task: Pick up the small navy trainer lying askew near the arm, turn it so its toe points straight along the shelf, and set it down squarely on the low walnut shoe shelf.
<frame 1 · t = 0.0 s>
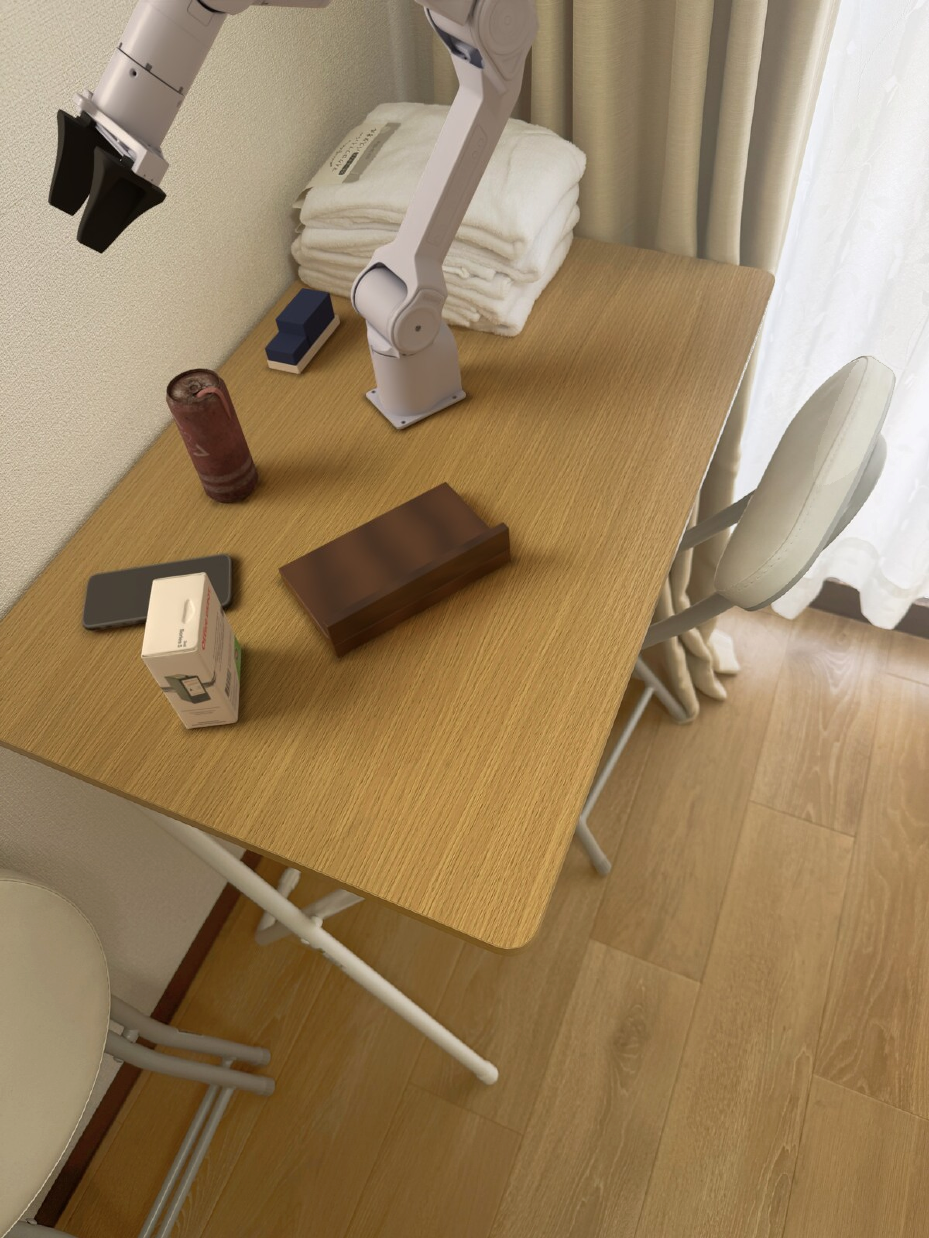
hand: (74, 227, 75), 32 cm above the table, tool tilted 50°, fingers open, 7 cm apart
shelf: (396, 571, 92), on the table
can: (234, 487, 102), on the table
trainer: (305, 345, 117), on the table
ink box: (216, 689, 86), on the table
smartphone: (161, 595, 93), on the table
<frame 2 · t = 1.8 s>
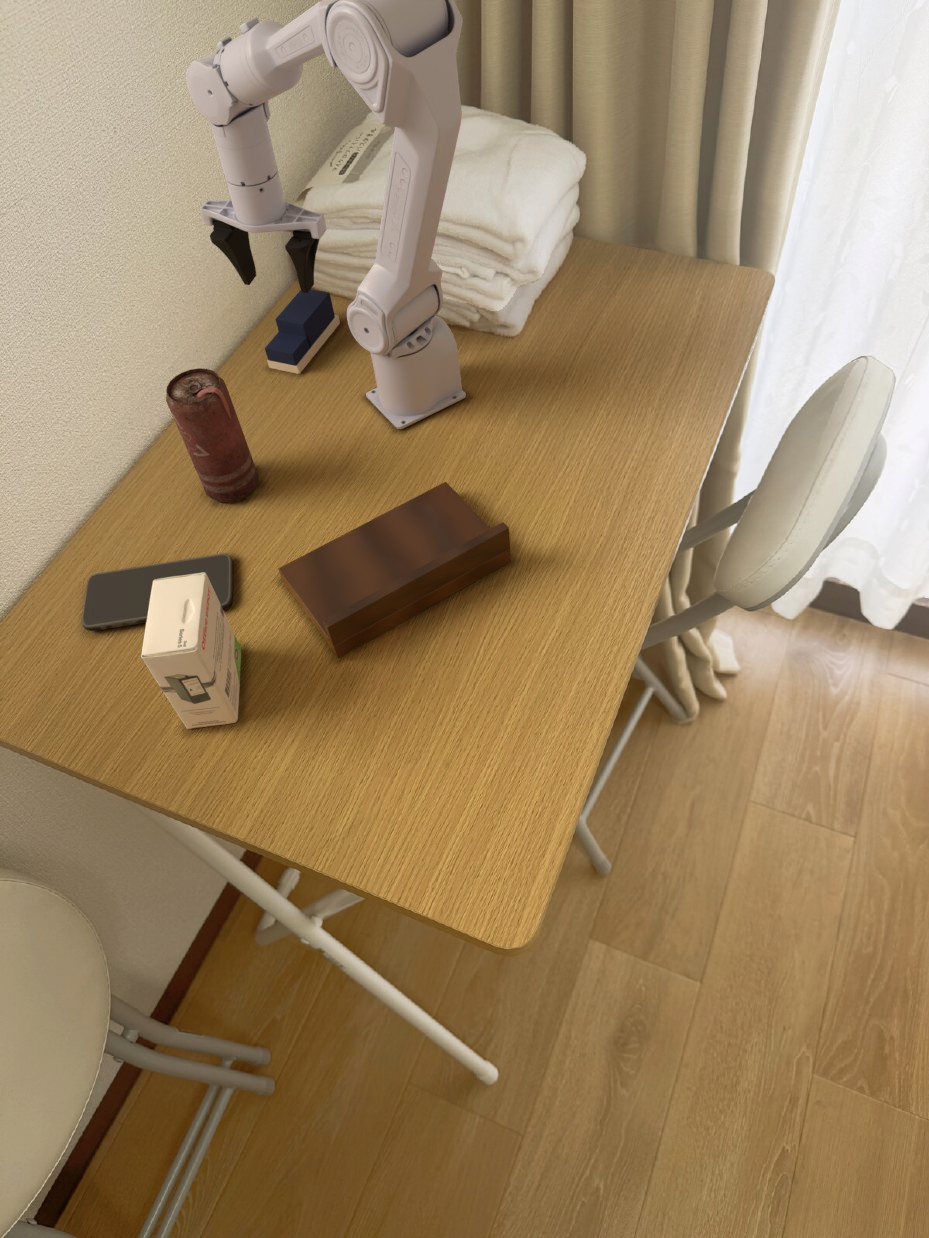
hand: (279, 284, 110), 9 cm above the table, tool pointing down, fingers open, 7 cm apart
nothing on the table moved.
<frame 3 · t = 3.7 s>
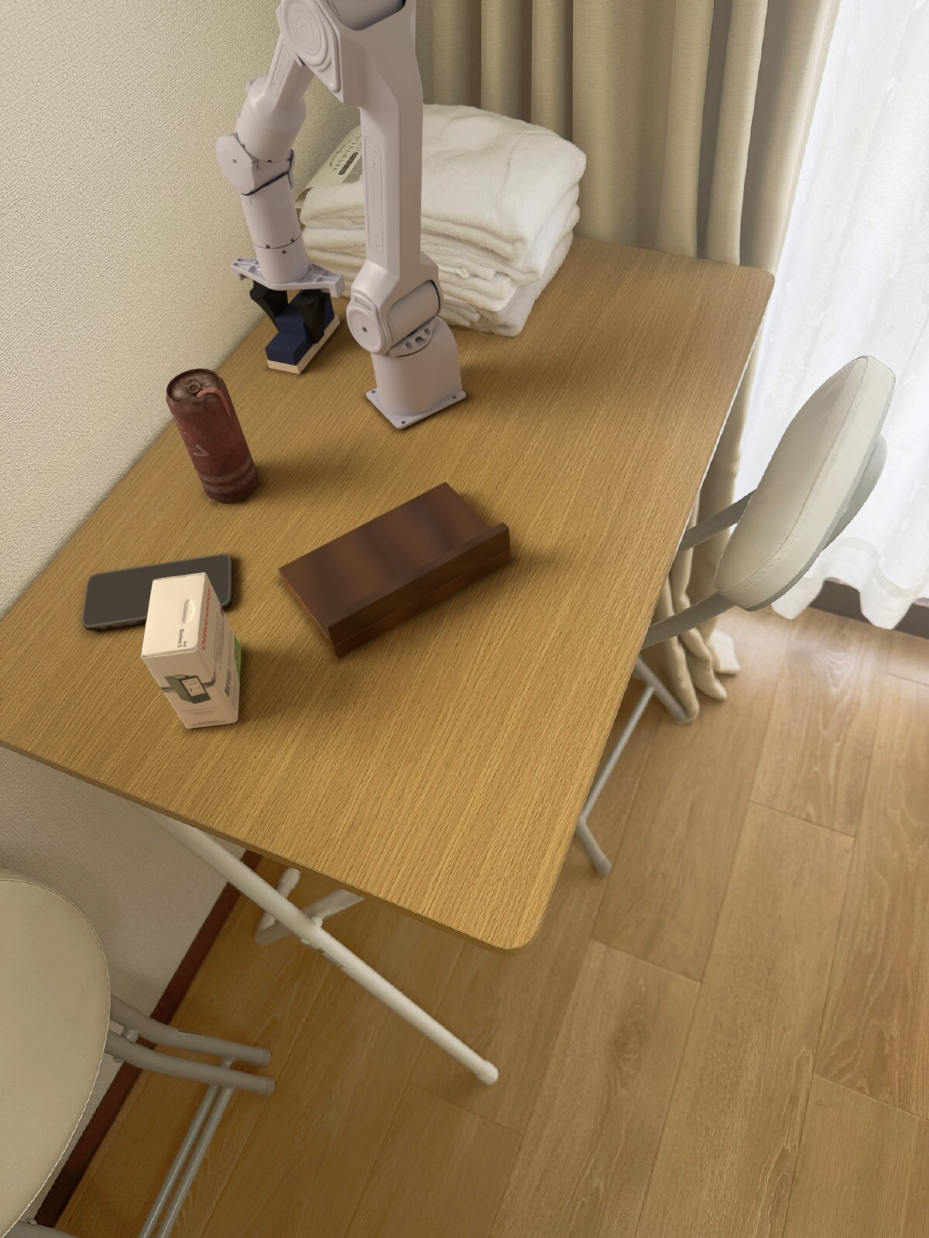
hand: (303, 336, 116), 1 cm above the table, tool pointing down, fingers closed on trainer, 4 cm apart
trainer: (305, 345, 117), on the table, touching gripper
everything else where it was.
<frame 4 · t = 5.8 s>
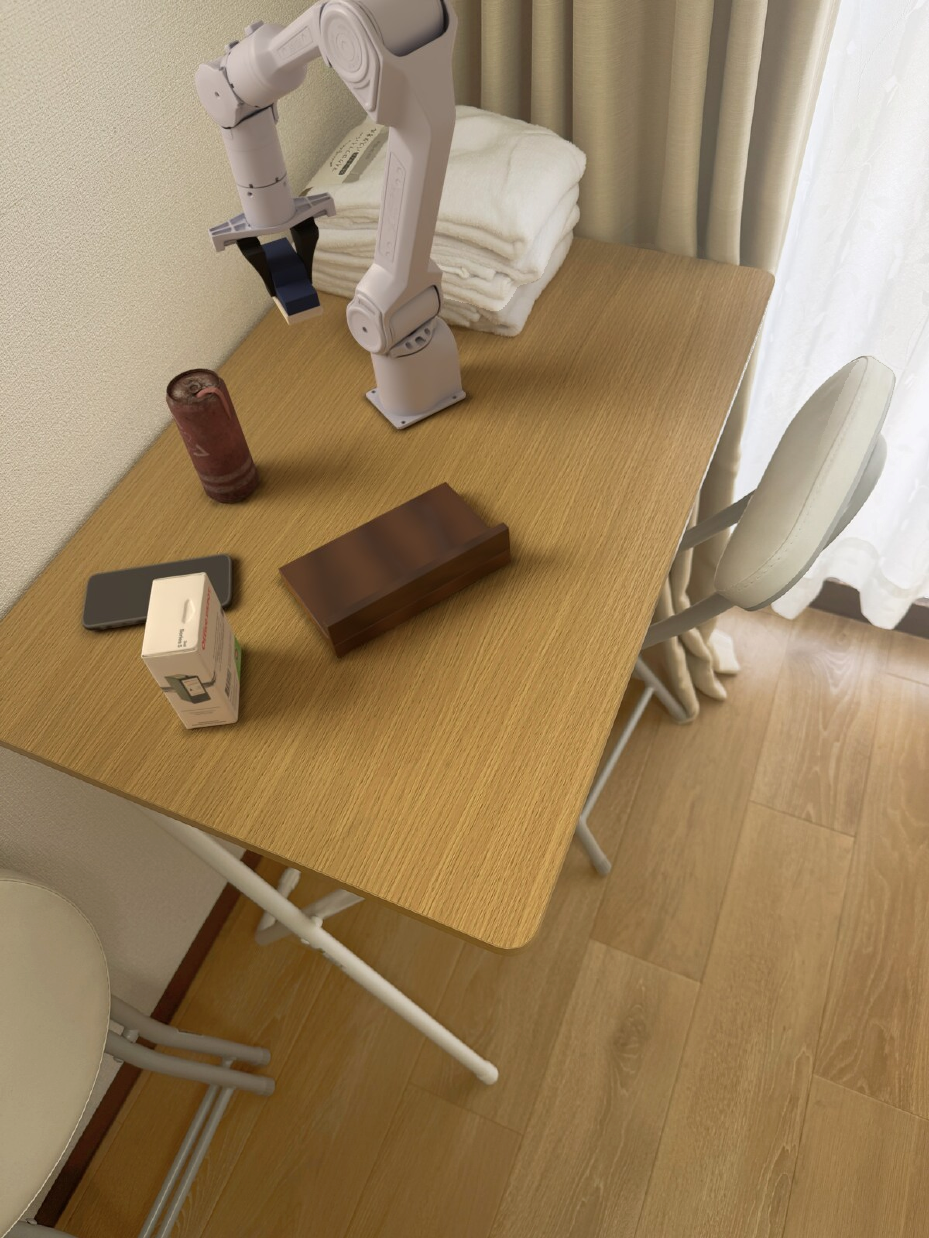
hand: (290, 286, 110), 8 cm above the table, tool pointing down, fingers closed on trainer, 4 cm apart
trainer: (292, 297, 111), point 7 cm above the table, touching gripper
everything else where it was.
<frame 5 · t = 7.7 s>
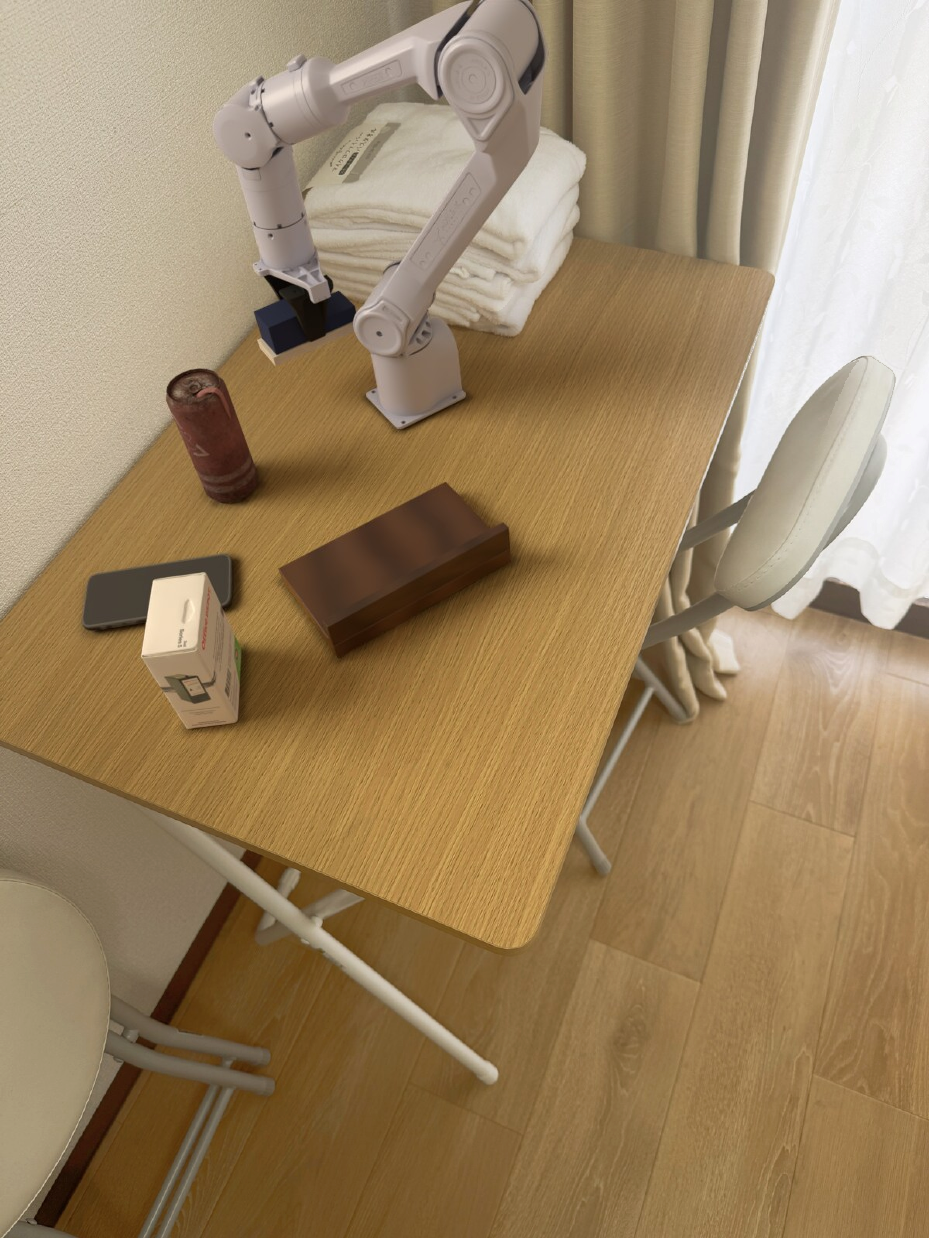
hand: (307, 328, 105), 8 cm above the table, tool pointing down, fingers closed on trainer, 4 cm apart
trainer: (310, 338, 106), point 7 cm above the table, touching gripper
everything else where it was.
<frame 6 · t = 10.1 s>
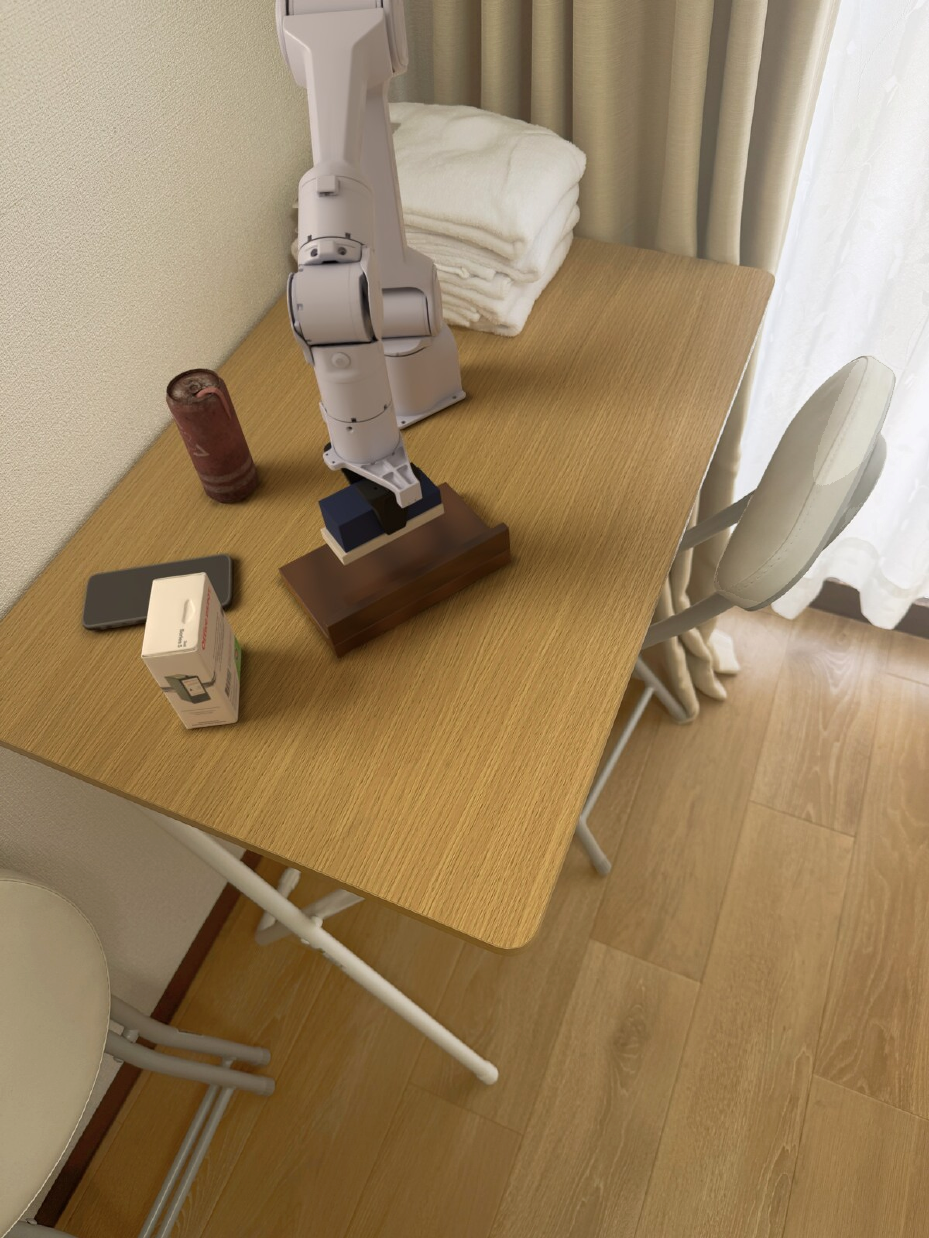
hand: (383, 514, 86), 8 cm above the table, tool pointing down, fingers closed on trainer, 4 cm apart
trainer: (383, 525, 87), point 7 cm above the table, touching gripper
everything else where it was.
when the fingers open (3 cm above the table, at t = 11.8 s): trainer stays where it is, resting on shelf.
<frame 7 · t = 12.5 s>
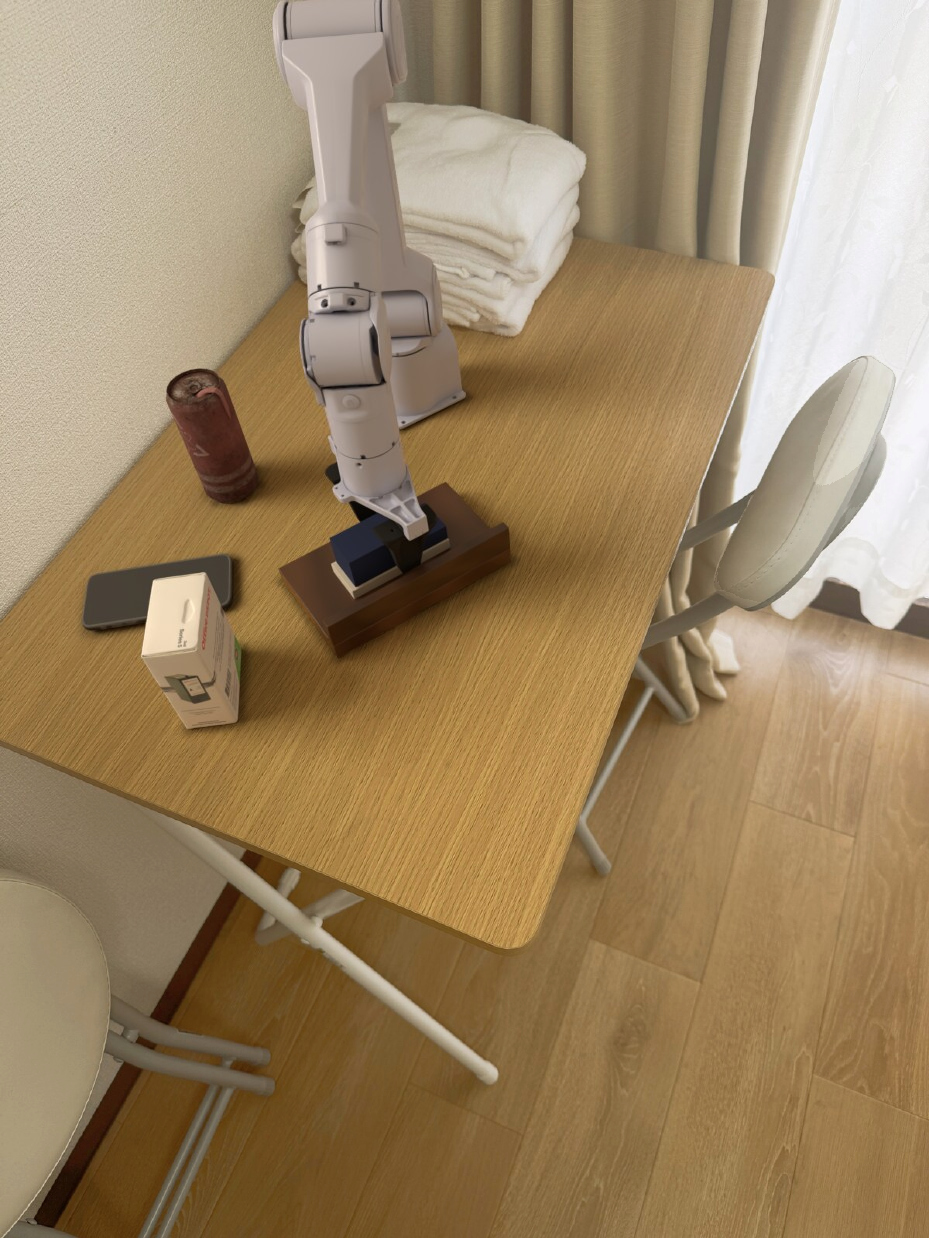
hand: (390, 543, 89), 4 cm above the table, tool pointing down, fingers open, 7 cm apart
trainer: (392, 559, 91), point 2 cm above the table, touching shelf
everything else where it was.
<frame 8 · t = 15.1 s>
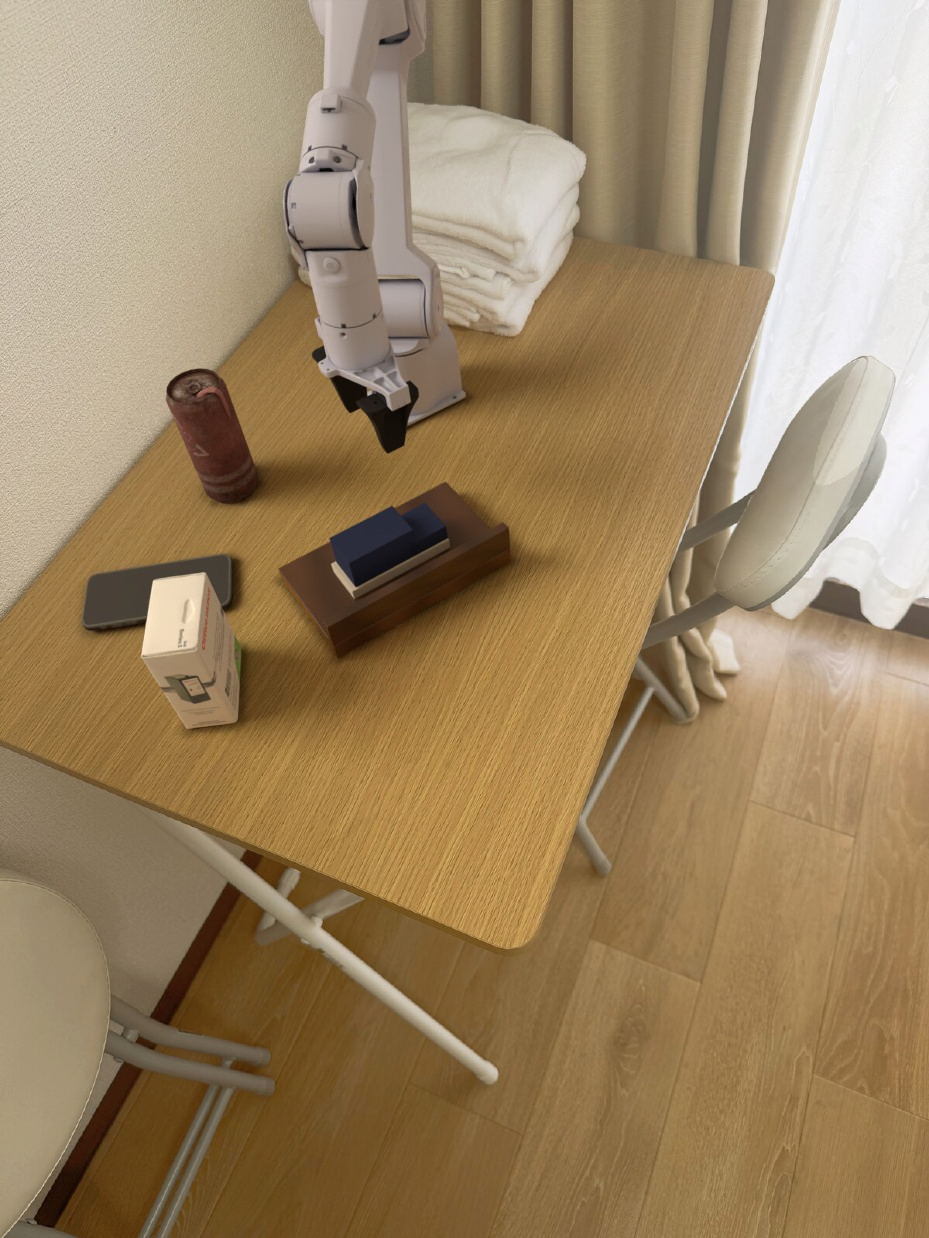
hand: (375, 427, 92), 9 cm above the table, tool pointing down, fingers open, 7 cm apart
nothing on the table moved.
at the end: trainer inside the target area on the shelf (0.2 cm from its centre), point 2.0 cm above the shelf's base; trainer tilted 0° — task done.
